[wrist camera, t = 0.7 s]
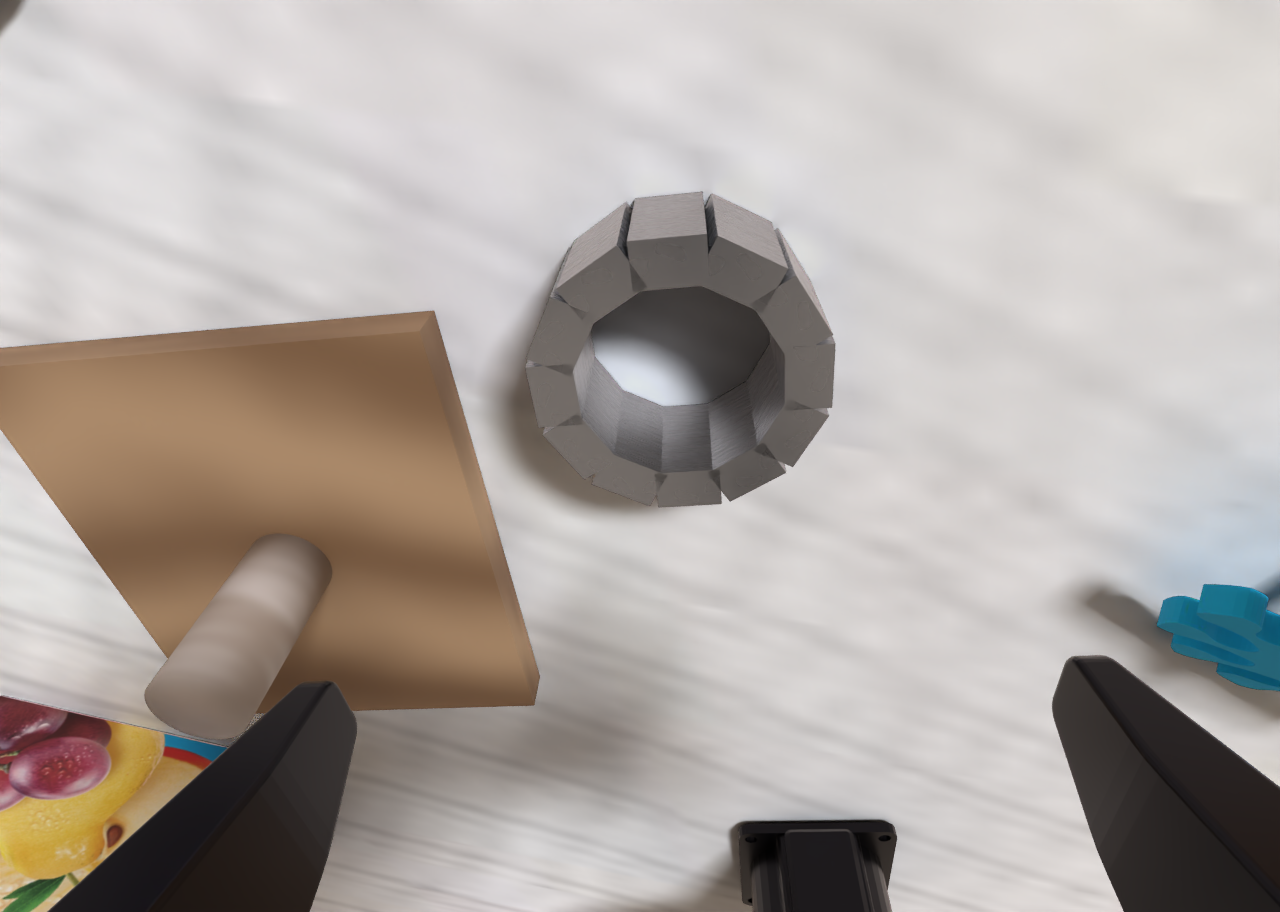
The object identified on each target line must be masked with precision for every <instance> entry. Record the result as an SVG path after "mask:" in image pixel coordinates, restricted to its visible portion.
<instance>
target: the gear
mask: <svg viewBox="0 0 1280 912" xmlns="http://www.w3.org/2000/svg"><path fill="white" fill-rule="evenodd" d="M1268 600H1269V599H1268V597H1267V596H1266V595H1265V594H1263V593H1261V592H1259V591H1257V590H1254V589H1252V588H1247V587H1241V586H1232V585H1216V584H1204V585H1203V589H1202V593H1201V597H1200V600H1197V599H1194V598H1190V597H1186V596H1175V597H1170V598H1167V599H1165V600H1163V604H1162V607H1161V611H1160V615H1159V619H1158V623H1157V627H1159V628H1161V629H1163V630H1166V631H1168V632H1171V633H1174V634H1173V638H1172V642H1171V648H1172V649H1173V650H1174V652H1177V653H1179V654H1182V655H1185V656H1188V657H1192V658H1196V659H1201V660H1207V661H1212V662H1217V663H1218V667H1217V671H1216V672H1217V673H1218V674H1219V675H1221V676H1222V677H1224V678H1226V679H1227V680H1229V681H1231V682H1233V683H1235V684H1237V685H1240V686H1244V687H1248V688H1252V689H1258V690H1275V691H1280V615H1278V614H1275V613H1273V612H1270V611H1268V610H1266V608H1267V604H1268Z"/></svg>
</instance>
